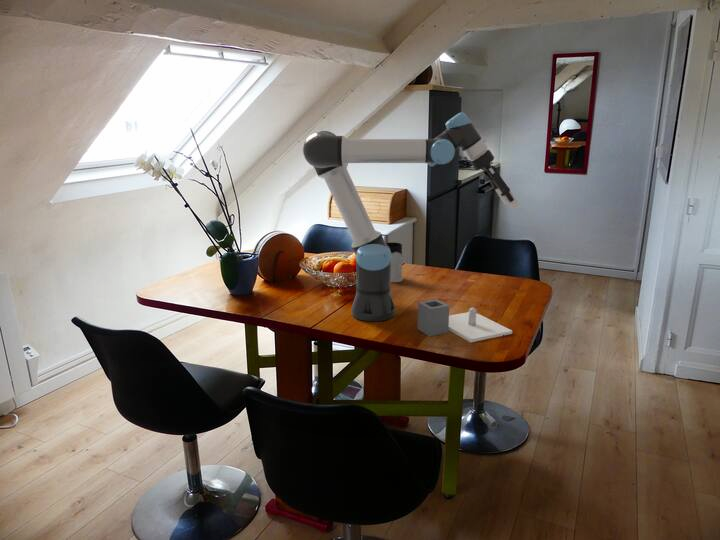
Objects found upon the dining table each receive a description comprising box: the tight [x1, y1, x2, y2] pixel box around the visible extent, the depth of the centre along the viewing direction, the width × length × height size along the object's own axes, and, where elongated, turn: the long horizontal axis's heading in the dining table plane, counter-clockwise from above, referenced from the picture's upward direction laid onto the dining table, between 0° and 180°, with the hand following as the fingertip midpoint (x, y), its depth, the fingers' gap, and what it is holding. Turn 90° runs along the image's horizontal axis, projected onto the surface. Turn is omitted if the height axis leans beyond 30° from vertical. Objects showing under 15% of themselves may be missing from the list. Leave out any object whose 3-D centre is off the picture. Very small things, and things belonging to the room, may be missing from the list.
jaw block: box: [417, 299, 450, 337], centre depth 173 cm, size 7×7×9 cm
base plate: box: [448, 307, 513, 344], centre depth 177 cm, size 16×20×7 cm
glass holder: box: [385, 242, 404, 283], centre depth 231 cm, size 9×14×15 cm, turn 15°
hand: (512, 205), depth 190 cm, fingers open, 13 cm apart
